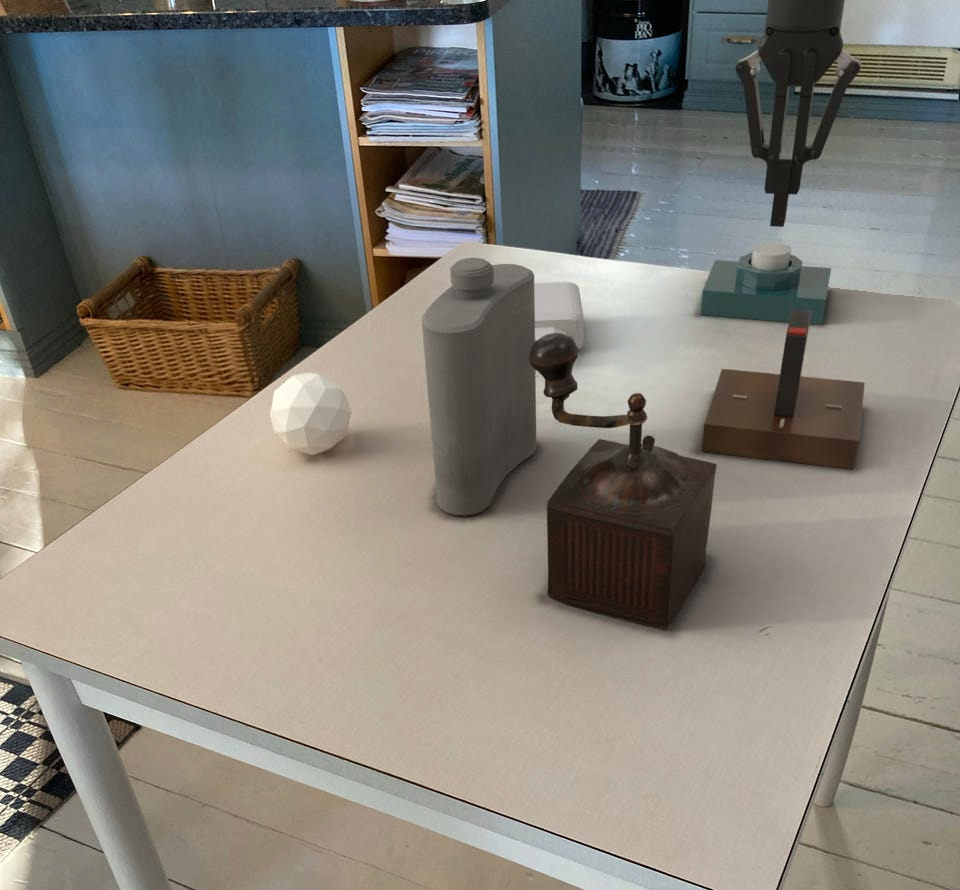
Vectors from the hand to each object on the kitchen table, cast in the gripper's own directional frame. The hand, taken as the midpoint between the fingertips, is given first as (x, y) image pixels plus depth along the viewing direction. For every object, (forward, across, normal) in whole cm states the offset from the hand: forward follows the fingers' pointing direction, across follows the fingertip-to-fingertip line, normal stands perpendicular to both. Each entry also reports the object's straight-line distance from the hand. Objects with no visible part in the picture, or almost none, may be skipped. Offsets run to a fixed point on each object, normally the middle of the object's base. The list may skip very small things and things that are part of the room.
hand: (777, 222), depth 119 cm
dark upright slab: (+7, +5, -31) cm, 32 cm away
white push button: (+5, 0, 0) cm, 5 cm away
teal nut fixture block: (+10, 0, 0) cm, 10 cm away
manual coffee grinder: (+10, -7, -58) cm, 59 cm away
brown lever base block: (+10, +5, -31) cm, 33 cm away
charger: (+10, -23, -18) cm, 31 cm away
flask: (+10, -21, -46) cm, 52 cm away
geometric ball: (+10, -39, -45) cm, 60 cm away
